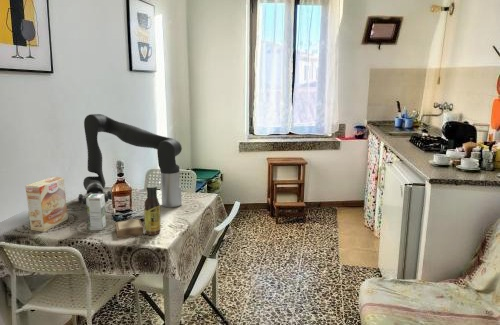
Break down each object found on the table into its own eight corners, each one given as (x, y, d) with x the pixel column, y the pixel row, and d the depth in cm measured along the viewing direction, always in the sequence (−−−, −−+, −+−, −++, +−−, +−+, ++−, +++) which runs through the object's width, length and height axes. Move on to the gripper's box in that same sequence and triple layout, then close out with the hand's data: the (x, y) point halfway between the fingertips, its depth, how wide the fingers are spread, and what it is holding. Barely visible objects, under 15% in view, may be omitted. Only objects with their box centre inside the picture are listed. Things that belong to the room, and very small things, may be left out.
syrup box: (92, 225, 162) (89, 193, 159) (107, 225, 162) (104, 193, 159) (88, 230, 156) (85, 197, 153) (103, 230, 157) (100, 197, 154)
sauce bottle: (152, 237, 151) (150, 189, 146) (142, 233, 154) (139, 187, 149) (164, 231, 156) (162, 185, 152) (153, 228, 159) (151, 183, 155)
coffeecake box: (44, 232, 155) (39, 186, 151) (30, 230, 156) (24, 185, 152) (68, 219, 169) (64, 177, 165) (55, 217, 171) (50, 176, 166)
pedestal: (140, 225, 162) (139, 218, 162) (143, 234, 153) (142, 226, 153) (115, 228, 159) (115, 221, 158) (117, 237, 150) (117, 230, 149)
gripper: (78, 185, 178) (77, 195, 163) (110, 182, 183) (111, 191, 169) (79, 200, 179) (79, 211, 165) (111, 197, 185) (113, 207, 170)
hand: (95, 201), depth 167 cm, fingers open, 8 cm apart
